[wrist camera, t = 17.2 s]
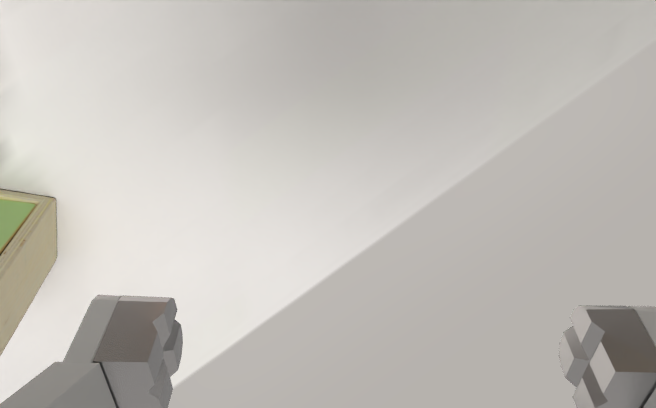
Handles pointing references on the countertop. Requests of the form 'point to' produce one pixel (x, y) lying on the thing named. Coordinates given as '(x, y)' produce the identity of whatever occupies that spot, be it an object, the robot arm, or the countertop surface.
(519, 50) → the countertop surface
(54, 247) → the toy refrigerator
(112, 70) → the countertop surface
